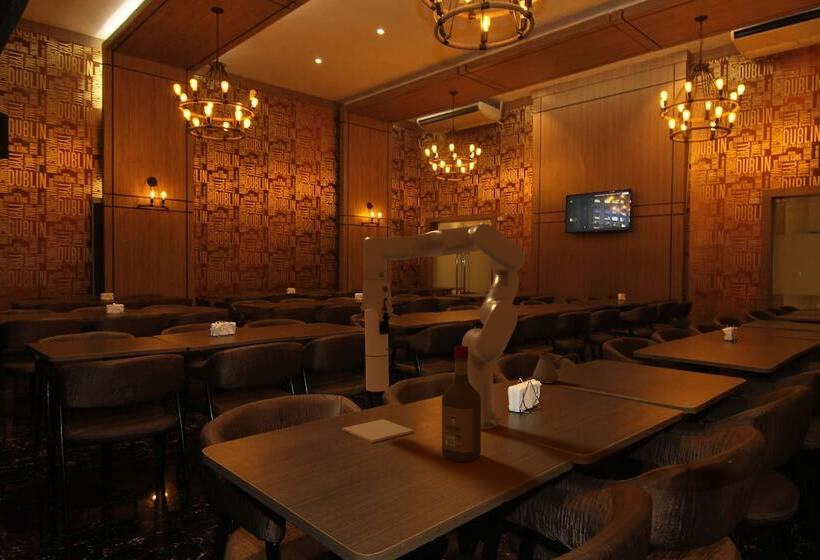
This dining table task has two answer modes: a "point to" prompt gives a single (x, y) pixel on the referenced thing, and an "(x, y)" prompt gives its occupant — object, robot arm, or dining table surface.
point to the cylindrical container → (376, 354)
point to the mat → (377, 430)
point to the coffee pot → (547, 368)
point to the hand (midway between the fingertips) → (376, 332)
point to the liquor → (461, 414)
